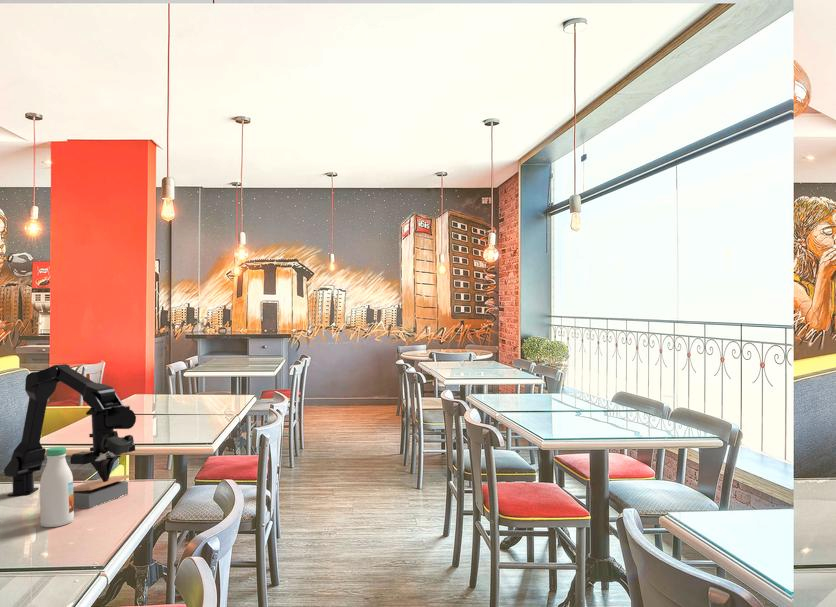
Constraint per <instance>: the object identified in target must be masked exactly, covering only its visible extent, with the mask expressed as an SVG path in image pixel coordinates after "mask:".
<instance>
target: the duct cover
mask: <svg viewBox="0 0 836 607" xmlns="http://www.w3.org/2000/svg"><path fill="white" fill-rule="evenodd" d="M126 479H130V475H129V474H123V475H110V476H109V479H108V481H106V482H103V480H102V479H101V477H100V478H98V479H95V480H91V481H88V482H84V483H81V484H78V485H75V486H73V491H86V490H93V489H96V488H99V487H102V486H105V485H108V484H111V483H114V482H117V481H124V480H126Z"/></svg>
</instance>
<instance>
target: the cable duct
mask: <svg viewBox="0 0 836 607" xmlns="http://www.w3.org/2000/svg"><path fill="white" fill-rule="evenodd" d="M73 492H74V508H83V509H92V508H95V507H97V506H96V505H98V506H100V505H102V504H101V503H103V504H105V503H104V502H106V503H108V502H107V501H109V500H112V499H114V498H117V497H120V496H122V495H125V494H128V495H129V481H125V480H120V481H117V482H114V483H111V484H108V485H105V486H102V487H99V488H96V489H93V490H86V491H73ZM120 498H121V497H120ZM117 499H118V498H117ZM114 500H115V499H114ZM112 501H113V500H112ZM109 502H110V501H109ZM99 504H100V505H99ZM94 506H95V507H94Z"/></svg>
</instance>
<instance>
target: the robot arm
mask: <svg viewBox="0 0 836 607" xmlns="http://www.w3.org/2000/svg"><path fill="white" fill-rule="evenodd" d="M59 382H60V383H63V384H64V385H66V386H68V387H69V388H70V389H72V390H73V391H75V392H76V393H78V394H80V395H81V396H82V400H83V402H84V403H85V404H86V405H88V406H89V407H90V408H89V409H88V410H87V411H86V412H85V415H86V416H88V415H89V416H91V433H89V434H88V435H89V436H88V437H89V438H92V447H90V448H89V451H80V452H76V453H72V455H71V456H70V461H69V462H70V465H88V464H91V466H93V467H94V469H95V470H96V472H97V474H98V476H99V477H100V478H101V479H102V480H103V482H106V481H108V479H109V477H110V476H111V472H112V469H113V467H114V464H115V462H116V461H117V460H119V458H121V456H122V454H128V453H131V452H134V451H136V444H135V443H134V442H135V440H134V436H133V435H131V434H127V435H125V436H124V437H123V436H121V437H120V436H119V434H118V430H129V429H132V428H133V427H134V426H135V424H136V422H137V416H136V414H135V412H134V411H133V410H132V409H131V406H130V405H124V404H123V401H122V400H121V399H120V397H119V396H118V393H116V390H115V389H114V387H113V386H110V385H107V384H105V383H100V382H95V381H93V380H91V379H90V378H88V377H86V376H85V375H83V374H81V373H79V372H78V371H77V370H75V369H74V368H72V367H71V366H70V365H69V364H67V363H63V364H61V363H60V364H53V365H52V366H49V367H47V368H44V369H42V370H37V371H33V372H31V371H30V373H28V374H27V375H26V377H25V385H24V387H25V388H24V390H25V392H26V394H27V396H28V404H27V410H26V414H25V419H24V420H25V421H24V426H23V430H22V437H21V441H20V442H19V444H17V446H16V447H15V449H14V450H13V452H12V455H11V459H10V461H8V463H7V465H6V466H5V467H4V468H3V473H4V476H5V477H10V478H12V480H11V481H12V491H11V492H9V493H8V494H7V496H8V497H11V496H12V497H13V496H22V495H23V496H25V495H31V494H33V493H34V492H36V491H38V490H39V487H38V486H37V487H35V484H34V483H35V482H34V481H35V478H34V475H35V473H34V472H39V471H41V469H42V465H43V463H44V461H45V454H46V450H47V449H46V448H44V447H43V445H42V444H41V439H42V438H41V437H42V431H43V427H44V426H43V425H44V421H45V416H46V410H47V405H48V400H49V398H50V397H51V396H52V395H53V394H54V392H55V391H56V388H57V385H58V384H59Z"/></svg>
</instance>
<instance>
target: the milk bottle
mask: <svg viewBox="0 0 836 607" xmlns="http://www.w3.org/2000/svg"><path fill="white" fill-rule="evenodd" d="M45 454H46V457H45V458H46V459H47V460H46V464H45V467H44V470H43V471H42V474H41V476H40V482H39V509H40V510H39V512H40V513H39V516H40V517H39V518H40V521H39V522H40V526H41V527H42V528H55V527H61V526H64V525H68V524H70V523H72V522H73V521H74V519H75V507H74V492H73V487H74V476H73V472H72V470H71V468H70V467H69V465H68V463H67V460H66V459H67V458H66V456H67V448H66V447H65V446H54V447H50V448H47V449H46V452H45Z"/></svg>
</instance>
